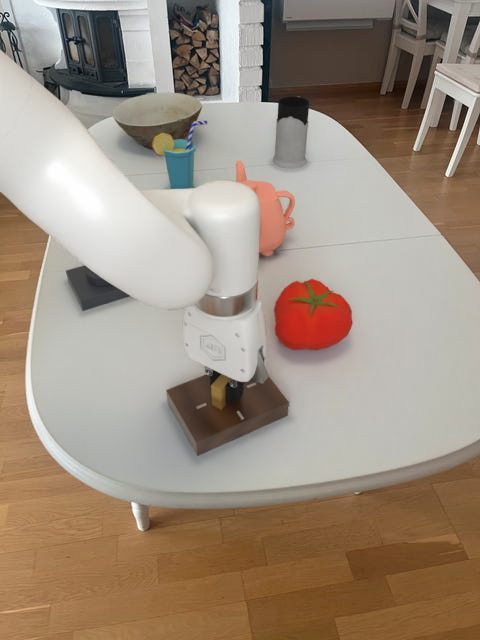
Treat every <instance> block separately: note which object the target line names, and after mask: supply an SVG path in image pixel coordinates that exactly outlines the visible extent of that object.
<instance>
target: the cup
mask: <svg viewBox="0 0 480 640" xmlns="http://www.w3.org/2000/svg"><path fill="white" fill-rule="evenodd" d="M202 125H208V121H207V120H197V121H194V122H193V123H192V125H191V128H190V132H189V134H188V136H187V139H177V140H173V138H172V136H171V135H169V134H165V133H161V134H159V135H158V136H156V137H154V140H153V143H152V147H153V149H152V150H153V151H154V153H155V155H157V156H162V157H164V158H165V164H166V169H167V175H168V180H169V185H170V186H169V187H170V189H188V188H194V178H195V153H196V151H197V147H196V145H195V143H194V142H193V141H192V139H193V135H194V131H195V127H196V126H202Z"/></svg>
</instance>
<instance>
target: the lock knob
mask: <svg viewBox="0 0 480 640" xmlns="http://www.w3.org/2000/svg"><path fill="white" fill-rule="evenodd" d="M228 382H229V377H227V376H225V375H223V374H221V375H220V376H219V377H218V378H217V379H216V381H215V382H214V383H213V384H212V385H211V395H212V405H213V406H215V407H217V408H219V409H221V410H222V409H223V408H224V406H225V405H226V393H225V386H226V384H227V383H228Z"/></svg>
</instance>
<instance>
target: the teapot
mask: <svg viewBox="0 0 480 640" xmlns="http://www.w3.org/2000/svg"><path fill="white" fill-rule="evenodd" d="M235 169H236V177H235V182H239V183H242V184H245V185H247V186H248V187H250V188H251V189H252V190H253V191H254V192H255V193H256V195H257V196H258V199H259V202H260V235H259V254H260V255H262V256H266V257H268V256H269V257H270V256H272V255H274V253H275V252H274V250H277V249H278V248H280V247H281V245H282V244H283V243H284V241H285V240H286V237H287V230H290V229H293V227H294V225H295V219H294V218H293V217H291V214H292V212H293V211H294V207H295V205H296V199H295V196H294V195H293V193H291V192H290V191H287V190H277V191H276V189H275V187H274V186H273V184H272V183H270V182H268V181H263V180H251V179H250V180H248V179H247V175H246V170H245V164H244V163H243V161H241V160H237V161H236V162H235ZM280 198H287V199H289V204H288V205H287V208H286V210H285V212H284V210H283V206H282V204H281V201H280Z"/></svg>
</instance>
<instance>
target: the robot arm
mask: <svg viewBox="0 0 480 640" xmlns="http://www.w3.org/2000/svg"><path fill="white" fill-rule="evenodd" d="M0 193H1V194H2V195H3V196H4V197H5V198H7V199H8V200H9V201H10V202H11V203H12V204H13V206H15V207H16V208H17V210H19V211H20V212H21V213H22V214H23V215H24V216H25V217H26V218H28V219H29V220H30V221H31V222H33V223H34V224H35V225H36V226H38V227H39V228H40V229H41V230H42V231H43V232H45V233H46V234H47V235H48V236H50V237H51V238H52V239H53V240H54V241H55V242H57V244H59V245H60V246H61V247H62V248H63V249H64V250H65V251H67V252H68V253H69V254H70V255H72V256H73V257H74V258H75V259H76V260H77V261H79V262H80V263H81V264H82V265H83V266H84V265H85V266H86V267H88V268H89V269H90V270H91V271H93V272H94V273H96V274H97V275H98V276H100V277H101V278H103V279H104V280H106V281H107V282H109V283H110V284H112V285H114V286H115V287H117V288H118V289H120V290H122V291H123V292H125V293H127V294H128V295H130V296H129V297H132V298H134V299H135V300H136V301H138V302H140V303H142V304H144V305H146V306H149V307H150V308H154V309H158V310H162V311H179V310H183V318H182V344H183V350H184V353H185V355H186V356H188V358H190V359H191V360H192V361H195V362H197V363H198V364H201V365H202V366H204V373H205V375H206V374H207V375H208V376H210V386H211V385H212V384H213V383H214V382H215V381H216V379H217V378H218V377H219V376H220V375H221V374H223V375H225V376H227V377H229V382H228V383H227V384H226V386H225V393H226V404H227V405H229V406H231V405H232V404H233V402H234V401H235V400H236V399H237V400H239V399H240V398H241V396H242V395H243V389H244V383H247V382H249V381H252V382H255V383H261V384H263V383H264V382H265V380H266V379H267V378H268V376H269V373H268V370H267V367H266V364H265V362H266V359H267V351H268V339H267V338H268V337H267V324H266V318H265V317H266V316H265V312H264V311H265V310H264V307H263V302H262V301H261V300H260V299H259V298H258V292H259V291H258V290H259V289H258V288H259V287H258V286H259V259H260V253H259V235H260V202H259V199H258V196H257V195H256V193H255V192H254V191H253V190H252V189H251V188H250V187H248V186H247V185H245V184H242V183H239V182H236V180H228V179H227V180H226V179H225V180H224V179H222V180H221V179H220V180H212V181H208V182H205V183H202V184H200V185H199V186H197V187H193V188H188V189H171V188H153V189H148V188H147V189H139V188H138V187H137V186H136V185H135V184H134V183H133V182H132V181H131V180H130V179H129V178H128V177H127V176H126V174H125V173H123V172H122V171H121V169H120V168H119V167H118V166H117V165H116V164H115V163H114V161H113V160H112V159H111V158H110V157H109V155H108V154H107V153H106V152H105V150H104V149H103V148H102V146H101V145H100V144H99V142H98V141H97V139H95V137H94V135H93V134H92V133H91V132H90V131H89V130H88V128H87V127H86V126H85V125H84V123H82V122H81V120H80V119H79V118H78V117H77V116H76V115H75V114H74V113H73V112H72V111H71V109H70V108H68V107H67V106H66V105H65V104H64V102H62V100H60V99H59V98H58V97H57V96H55V95H54V93H52V92H51V91H49V89H47V88H46V87H45V86H44V85H43V84H41V83H40V82H39V81H38V80H37V79H36V78H34V77H33V76H32V75H31V74H29V73H28V72H27V71H26V70H25V69H23V67H21V66H20V65H19V64H18V63H17V62H15V61H14V60H13V59H12V58H11V57H10V56H8V55H7V54H6V52H4V51H3V50H1V49H0ZM211 397H212V395H211Z"/></svg>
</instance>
